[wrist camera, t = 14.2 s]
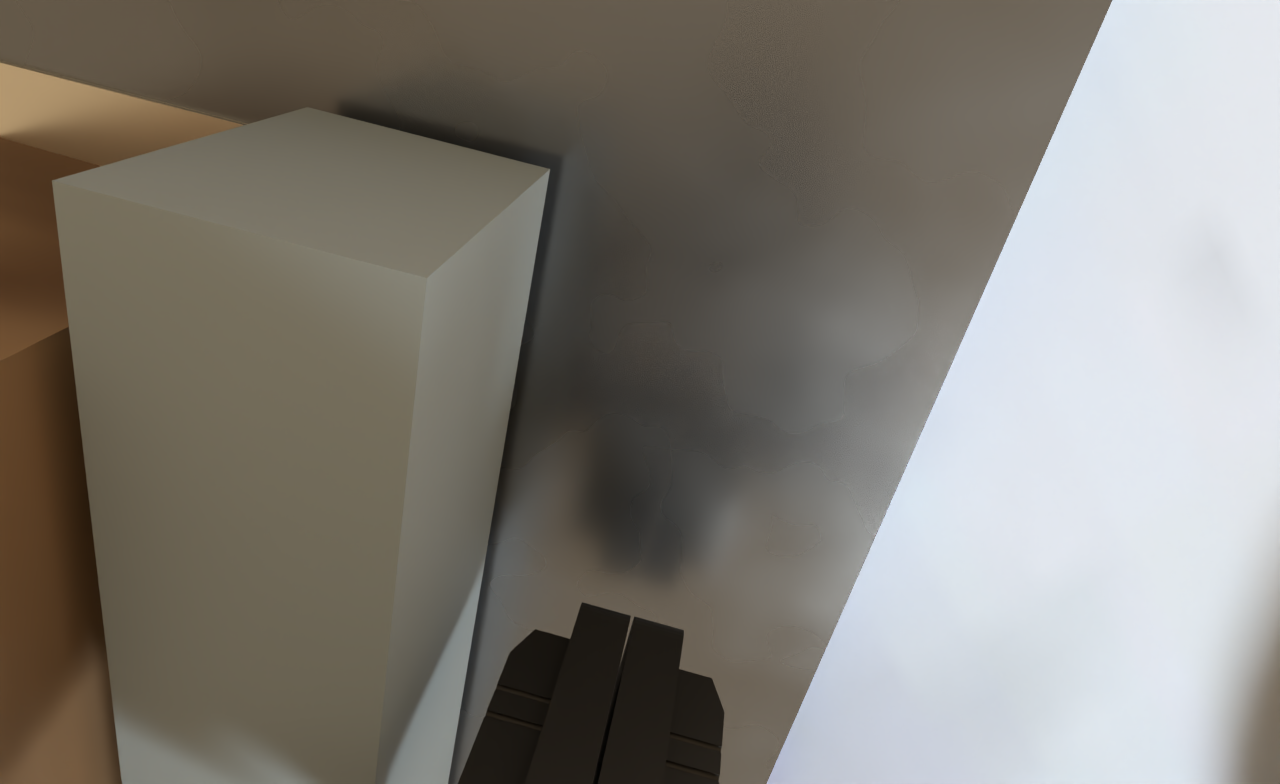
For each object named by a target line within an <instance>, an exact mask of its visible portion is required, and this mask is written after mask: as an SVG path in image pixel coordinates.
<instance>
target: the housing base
mask: <svg viewBox="0 0 1280 784" xmlns="http://www.w3.org/2000/svg"><path fill="white" fill-rule="evenodd" d="M1111 2H1112V0H0V138H4V139H7V140H11V141H14V142H18V143H21V144H25V145H29V146H32V147H36V148H39V149H43V150H46V151H50V152H53V153H57V154H61V155H64V156H68V157H71V158H75V159H78V160H82V161H85V162H89V163H92V164H96V165H100V166H104V165H108V164H111V163H115V162H118V161H122V160H125V159H129V158H132V157H136V156H139V155H143V154H146V153H150V152H153V151H156V150H160V149H163V148H167V147H170V146H174V145H177V144H181V143H184V142H188V141H191V140H195V139H198V138H202V137H205V136H209V135H212V134H216V133H219V132H223V131H226V130H230V129H233V128H236V127H240V126H243V125H247V124H250V123H254V122H257V121H261V120H264V119H268V118H271V117H275V116H278V115H282V114H285V113H289V112H292V111H296V110H299V109H303V108H306V107H309V108H313V109H317V110H321V111H325V112H329V113H333V114H337V115H340V116H344V117H348V118H352V119H356V120H360V121H364V122H368V123H372V124H376V125H380V126H383V127H387V128H391V129H395V130H399V131H403V132H407V133H411V134H415V135H419V136H423V137H426V138H430V139H434V140H438V141H442V142H446V143H450V144H454V145H458V146H462V147H466V148H469V149H473V150H477V151H481V152H485V153H489V154H493V155H497V156H501V157H505V158H509V159H512V160H516V161H520V162H524V163H528V164H532V165H536V166H540V167H544V168H548V169H550V173H549V179H548V185H547V191H546V197H545V203H544V209H543V215H542V221H541V227H540V233H539V239H538V245H537V251H536V257H535V263H534V269H533V275H532V281H531V287H530V293H529V299H528V305H527V311H526V317H525V323H524V329H523V335H522V341H521V347H520V353H519V359H518V365H517V371H516V377H515V383H514V389H513V395H512V401H511V407H510V413H509V419H508V425H507V431H506V437H505V443H504V449H503V455H502V462H501V468H500V474H499V480H498V486H497V492H496V498H495V504H494V510H493V516H492V522H491V528H490V534H489V540H488V546H487V552H486V558H485V564H484V570H483V576H482V582H481V588H480V594H479V600H478V606H477V612H476V618H475V624H474V630H473V636H472V642H471V648H470V654H469V660H468V666H467V672H466V678H465V684H464V690H463V696H462V702H461V708H460V714H459V720H458V726H457V732H456V738H455V744H454V750H453V756H452V762H451V768H450V774H449V780H448V784H458V782H459V779H460V777H461V774H462V772H463V769H464V767H465V764H466V762H467V759H468V757H469V754H470V751H471V749H472V746H473V744H474V741H475V739H476V736H477V734H478V731H479V729H480V726H481V724H482V721H483V719H484V717H485V715H486V712H487V709H488V706H489V704H490V701H491V699H492V696H493V693H494V691H495V690H496V687H497V683H498V681H499V678H500V676H501V673H502V671H503V668H504V666H505V663H506V661H507V658H508V656H509V653H510V652H511V651H512V650H513V649H514V648H515V647H516V646H517V645H518V644H519V643H520V642H522V641H523V640H524V639H525V638H526V637H527V636H528V635H529V634H530V633H531V632H533V631H534V630H535V629H537V630H540V631H544V632H547V633H551V634H554V635H558V636H562V637H565V638H569V639H570V638H571V635H572V632H573V628H574V625H575V622H576V619H577V616H578V612H579V609H580V606H581V604H582V602H583V603H587V604H591V605H594V606H598V607H601V608H605V609H609V610H612V611H616V612H619V613H623V614H627V615H630V616H631V618H630V623H629V627H628V632H627V636H626V640H625V645H624V649H623V653H624V650H625V646H626V643H627V639H628V636H629V632H630V629H631V626H632V622H633V619H634V617H638V618H642V619H646V620H649V621H653V622H657V623H660V624H664V625H667V626H671V627H675V628H678V629H682V630H684V638H683V646H682V653H681V660H680V667H679V669H681V670H685V671H688V672H692V673H695V674H699V675H703V676H706V677H710V678H712V680H713V682H714V685H715V688H716V690H717V693H718V696H719V698H720V701H721V704H722V707H723V709H724V726H723V740H722V748H721V767H720V776H719V784H766V783H767V781H768V778H769V776H770V774H771V772H772V769H773V767H774V765H775V763H776V760H777V758H778V756H779V754H780V751H781V749H782V747H783V744H784V742H785V740H786V738H787V735H788V733H789V731H790V729H791V726H792V724H793V722H794V720H795V717H796V715H797V713H798V710H799V708H800V706H801V704H802V701H803V699H804V697H805V695H806V692H807V690H808V688H809V686H810V683H811V681H812V679H813V677H814V674H815V672H816V670H817V667H818V665H819V663H820V661H821V658H822V656H823V654H824V652H825V649H826V647H827V645H828V643H829V640H830V638H831V636H832V634H833V631H834V629H835V627H836V624H837V622H838V620H839V618H840V615H841V613H842V611H843V609H844V606H845V604H846V602H847V600H848V597H849V595H850V593H851V590H852V588H853V586H854V584H855V581H856V579H857V577H858V575H859V572H860V570H861V568H862V566H863V563H864V561H865V559H866V557H867V554H868V552H869V550H870V547H871V545H872V543H873V541H874V538H875V536H876V534H877V532H878V529H879V527H880V525H881V523H882V520H883V518H884V516H885V514H886V511H887V509H888V507H889V504H890V502H891V500H892V498H893V495H894V493H895V491H896V489H897V486H898V484H899V482H900V480H901V477H902V475H903V473H904V470H905V468H906V466H907V464H908V461H909V459H910V457H911V455H912V452H913V450H914V448H915V446H916V443H917V441H918V439H919V437H920V434H921V432H922V430H923V427H924V425H925V423H926V421H927V418H928V416H929V414H930V412H931V409H932V407H933V405H934V403H935V400H936V398H937V396H938V394H939V391H940V389H941V387H942V384H943V382H944V380H945V378H946V375H947V373H948V371H949V369H950V366H951V364H952V362H953V360H954V357H955V355H956V353H957V350H958V348H959V346H960V344H961V341H962V339H963V337H964V335H965V332H966V330H967V328H968V326H969V323H970V321H971V319H972V317H973V314H974V312H975V310H976V307H977V305H978V303H979V301H980V298H981V296H982V294H983V292H984V289H985V287H986V285H987V283H988V280H989V278H990V276H991V274H992V271H993V269H994V267H995V264H996V262H997V260H998V258H999V255H1000V253H1001V251H1002V249H1003V246H1004V244H1005V242H1006V240H1007V237H1008V235H1009V233H1010V230H1011V228H1012V226H1013V224H1014V221H1015V219H1016V217H1017V215H1018V212H1019V210H1020V208H1021V206H1022V203H1023V201H1024V199H1025V197H1026V194H1027V192H1028V190H1029V187H1030V185H1031V183H1032V181H1033V178H1034V176H1035V174H1036V172H1037V169H1038V167H1039V165H1040V163H1041V160H1042V158H1043V156H1044V154H1045V151H1046V149H1047V147H1048V144H1049V142H1050V140H1051V138H1052V135H1053V133H1054V131H1055V129H1056V126H1057V124H1058V122H1059V120H1060V117H1061V115H1062V113H1063V110H1064V108H1065V106H1066V104H1067V101H1068V99H1069V97H1070V95H1071V92H1072V90H1073V88H1074V86H1075V83H1076V81H1077V79H1078V77H1079V74H1080V72H1081V70H1082V67H1083V65H1084V63H1085V61H1086V58H1087V56H1088V54H1089V52H1090V49H1091V47H1092V45H1093V43H1094V40H1095V38H1096V36H1097V34H1098V31H1099V29H1100V27H1101V24H1102V22H1103V20H1104V18H1105V15H1106V13H1107V11H1108V9H1109V6H1110V4H1111ZM623 653H622V656H623ZM621 660H622V658H621ZM620 663H621V662H620ZM619 667H620V666H619Z"/></svg>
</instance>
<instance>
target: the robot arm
mask: <svg viewBox="0 0 1280 784" xmlns="http://www.w3.org/2000/svg"><path fill="white" fill-rule="evenodd" d="M630 618H631V616H630V615H627V614H623V613H619V612H616V611H612V610H609V609H605V608H601V607H598V606H594V605H591V604H587V603H583V602H582V604H581V606H580V609H579V612H578V616H577V619H576V622H575V625H574V628H573V632H572V635H571V638H570V639H569V638H565V637H562V636H558V635H554V634H551V633H547V632H544V631H540V630H537V629H535V630H534V631H533V632H531V633H530V634H529V635H528V636H527V637H526V638H525V639H524V640H523V641H522V642H520V643H519V644H518V645H517V646H516V647H515V648H514V649H513V650H512V651H511V652H510V653H509V656H508V658H507V661H506V663H505V666H504V668H503V671H502V673H501V676H500V678H499V681H498V683H497V687H496V690H495V691H494V693H493V696H492V699H491V701H490V704H489V706H488V709H487V712H486V715H485V717H484V719H483V721H482V724H481V726H480V729H479V731H478V734H477V736H476V739H475V741H474V744H473V746H472V749H471V751H470V754H469V757H468V759H467V762H466V764H465V767H464V769H463V772H462V774H461V777H460V779H459V782H458V784H719V776H720V767H721V748H722V740H723V726H724V709H723V707H722V704H721V701H720V698H719V696H718V693H717V690H716V688H715V685H714V682H713V680H712V678H710V677H706V676H703V675H699V674H695V673H692V672H688V671H685V670H681V669H679V667H680V660H681V653H682V646H683V638H684V630H682V629H678V628H675V627H671V626H667V625H664V624H660V623H657V622H653V621H649V620H646V619H642V618H638V617H634V619H633V622H632V626H631V629H630V632H629V636H628V639H627V643H626V646H625V650H624V653H623V649H624V645H625V640H626V636H627V632H628V627H629V623H630ZM622 653H623V656H622ZM621 658H622V660H621ZM620 662H621V663H620ZM619 666H620V667H619Z"/></svg>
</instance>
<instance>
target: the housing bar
mask: <svg viewBox="0 0 1280 784" xmlns="http://www.w3.org/2000/svg"><path fill="white" fill-rule="evenodd" d="M549 173H550V169H548V168H544V167H540V166H536V165H532V164H528V163H524V162H520V161H516V160H512V159H509V158H505V157H501V156H497V155H493V154H489V153H485V152H481V151H477V150H473V149H469V148H466V147H462V146H458V145H454V144H450V143H446V142H442V141H438V140H434V139H430V138H426V137H423V136H419V135H415V134H411V133H407V132H403V131H399V130H395V129H391V128H387V127H383V126H380V125H376V124H372V123H368V122H364V121H360V120H356V119H352V118H348V117H344V116H340V115H337V114H333V113H329V112H325V111H321V110H317V109H313V108H309V107H306V108H303V109H299V110H296V111H292V112H289V113H285V114H282V115H278V116H275V117H271V118H268V119H264V120H261V121H257V122H254V123H250V124H247V125H243V126H240V127H236V128H233V129H230V130H226V131H223V132H219V133H216V134H212V135H209V136H205V137H202V138H198V139H195V140H191V141H188V142H184V143H181V144H177V145H174V146H170V147H167V148H163V149H160V150H156V151H153V152H150V153H146V154H143V155H139V156H136V157H132V158H129V159H125V160H122V161H118V162H115V163H111V164H108V165H104V166H101V167H97V168H94V169H90V170H87V171H83V172H80V173H77V174H73V175H70V176H66V177H63V178H59V179H56V180H52V186H53V194H54V203H55V211H56V220H57V229H58V237H59V246H60V255H61V263H62V272H63V280H64V289H65V298H66V306H67V315H68V323H69V332H70V341H71V349H72V358H73V367H74V375H75V384H76V392H77V401H78V410H79V418H80V427H81V435H82V444H83V453H84V461H85V470H86V479H87V487H88V496H89V504H90V513H91V522H92V530H93V539H94V547H95V556H96V565H97V573H98V582H99V591H100V599H101V608H102V616H103V625H104V634H105V642H106V651H107V659H108V668H109V677H110V685H111V694H112V702H113V711H114V720H115V728H116V737H117V746H118V754H119V763H120V771H121V780H122V784H448V780H449V774H450V768H451V762H452V756H453V750H454V744H455V738H456V732H457V726H458V720H459V714H460V708H461V702H462V696H463V690H464V684H465V678H466V672H467V666H468V660H469V654H470V648H471V642H472V636H473V630H474V624H475V618H476V612H477V606H478V600H479V594H480V588H481V582H482V576H483V570H484V564H485V558H486V552H487V546H488V540H489V534H490V528H491V522H492V516H493V510H494V504H495V498H496V492H497V486H498V480H499V474H500V468H501V462H502V455H503V449H504V443H505V437H506V431H507V425H508V419H509V413H510V407H511V401H512V395H513V389H514V383H515V377H516V371H517V365H518V359H519V353H520V347H521V341H522V335H523V329H524V323H525V317H526V311H527V305H528V299H529V293H530V287H531V281H532V275H533V269H534V263H535V257H536V251H537V245H538V239H539V233H540V227H541V221H542V215H543V209H544V203H545V197H546V191H547V185H548V179H549Z"/></svg>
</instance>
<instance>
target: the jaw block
mask: <svg viewBox="0 0 1280 784" xmlns="http://www.w3.org/2000/svg"><path fill="white" fill-rule="evenodd" d="M97 167H101V166H100V165H96V164H92V163H89V162H85V161H82V160H78V159H75V158H71V157H68V156H64V155H61V154H57V153H53V152H50V151H46V150H43V149H39V148H36V147H32V146H29V145H25V144H21V143H18V142H14V141H11V140H7V139H4V138H0V784H122V780H121V771H120V763H119V754H118V746H117V737H116V728H115V720H114V711H113V702H112V694H111V685H110V677H109V668H108V659H107V651H106V642H105V634H104V625H103V616H102V608H101V599H100V591H99V582H98V573H97V565H96V556H95V547H94V539H93V530H92V522H91V513H90V504H89V496H88V487H87V479H86V470H85V461H84V453H83V444H82V435H81V427H80V418H79V410H78V401H77V392H76V384H75V375H74V367H73V358H72V349H71V341H70V332H69V323H68V315H67V306H66V298H65V289H64V280H63V272H62V263H61V255H60V246H59V237H58V229H57V220H56V211H55V203H54V194H53V186H52V180H56V179H59V178H63V177H66V176H70V175H73V174H77V173H80V172H83V171H87V170H90V169H94V168H97Z"/></svg>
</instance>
